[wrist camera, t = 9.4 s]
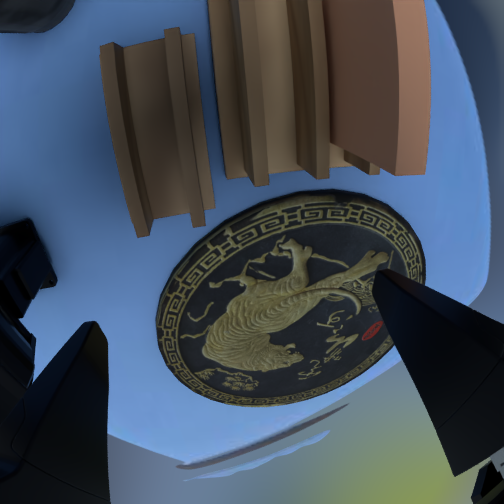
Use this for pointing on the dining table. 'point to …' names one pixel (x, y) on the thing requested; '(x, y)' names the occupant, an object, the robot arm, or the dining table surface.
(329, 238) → the decorative plate
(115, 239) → the dining table surface
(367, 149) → the wooden block
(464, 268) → the dining table surface
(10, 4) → the beverage cup
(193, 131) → the holder
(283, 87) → the rack
